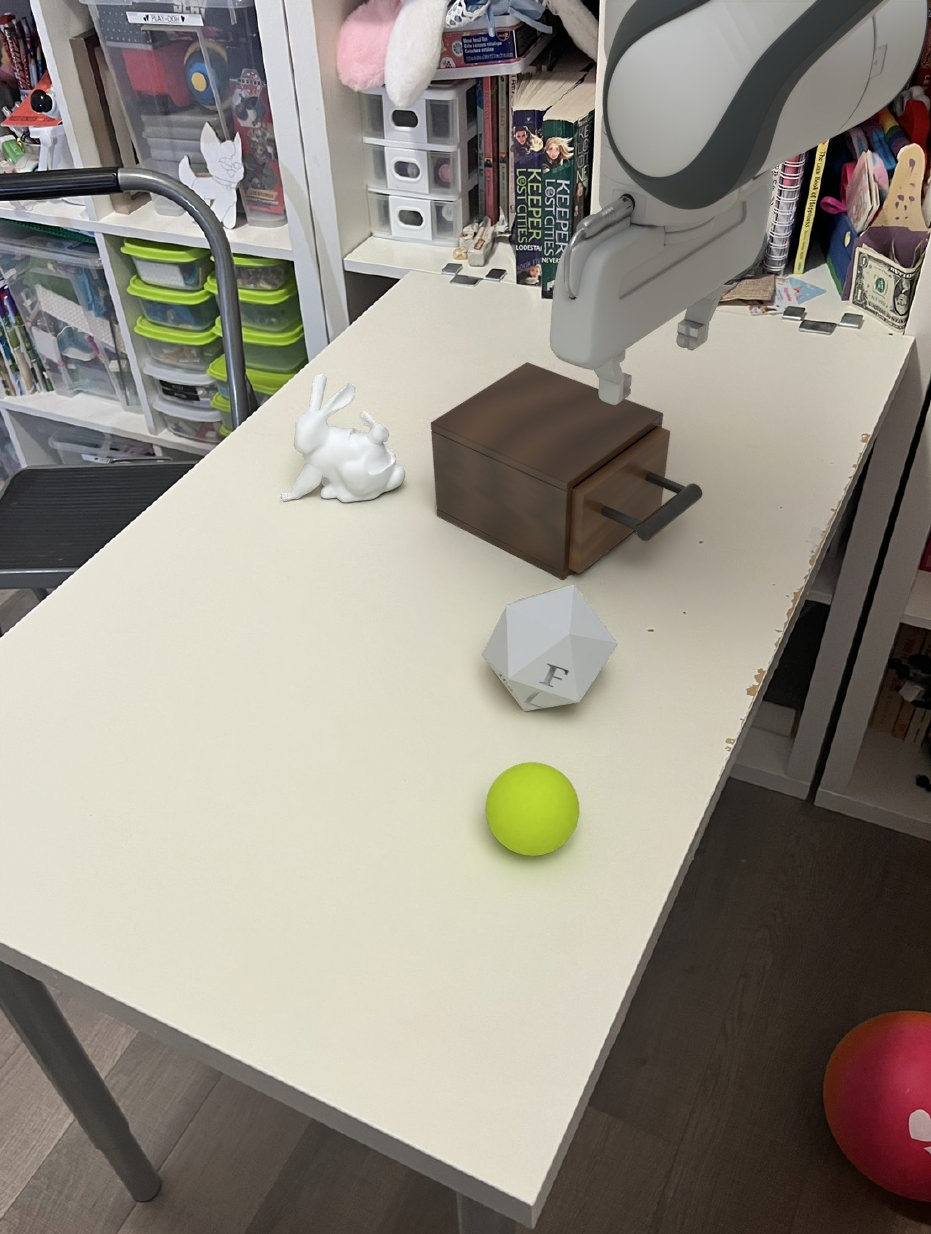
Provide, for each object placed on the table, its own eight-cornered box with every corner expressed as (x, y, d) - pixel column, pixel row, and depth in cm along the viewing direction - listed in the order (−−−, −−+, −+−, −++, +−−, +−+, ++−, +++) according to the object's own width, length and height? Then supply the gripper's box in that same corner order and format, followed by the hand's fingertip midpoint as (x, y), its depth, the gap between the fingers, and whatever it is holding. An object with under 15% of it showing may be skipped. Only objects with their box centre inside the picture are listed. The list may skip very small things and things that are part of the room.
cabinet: (652, 509, 91) (663, 412, 84) (563, 580, 86) (567, 483, 79) (526, 454, 99) (526, 361, 92) (436, 515, 94) (430, 422, 87)
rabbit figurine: (277, 502, 97) (258, 410, 90) (298, 457, 102) (281, 367, 95) (400, 507, 95) (391, 414, 88) (416, 461, 100) (408, 369, 93)
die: (462, 699, 79) (492, 676, 69) (494, 591, 80) (528, 553, 70) (566, 733, 79) (610, 715, 69) (596, 625, 81) (643, 593, 71)
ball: (579, 805, 70) (583, 746, 65) (574, 878, 66) (578, 821, 62) (491, 797, 71) (490, 740, 67) (481, 869, 67) (479, 813, 63)
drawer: (710, 530, 87) (723, 450, 82) (629, 598, 82) (637, 518, 77) (541, 457, 97) (542, 381, 91) (459, 513, 92) (455, 437, 86)
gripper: (608, 241, 60) (600, 448, 70) (799, 128, 68) (767, 327, 78) (525, 219, 63) (528, 420, 73) (717, 114, 72) (696, 306, 82)
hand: (653, 371), depth 76 cm, fingers open, 8 cm apart
